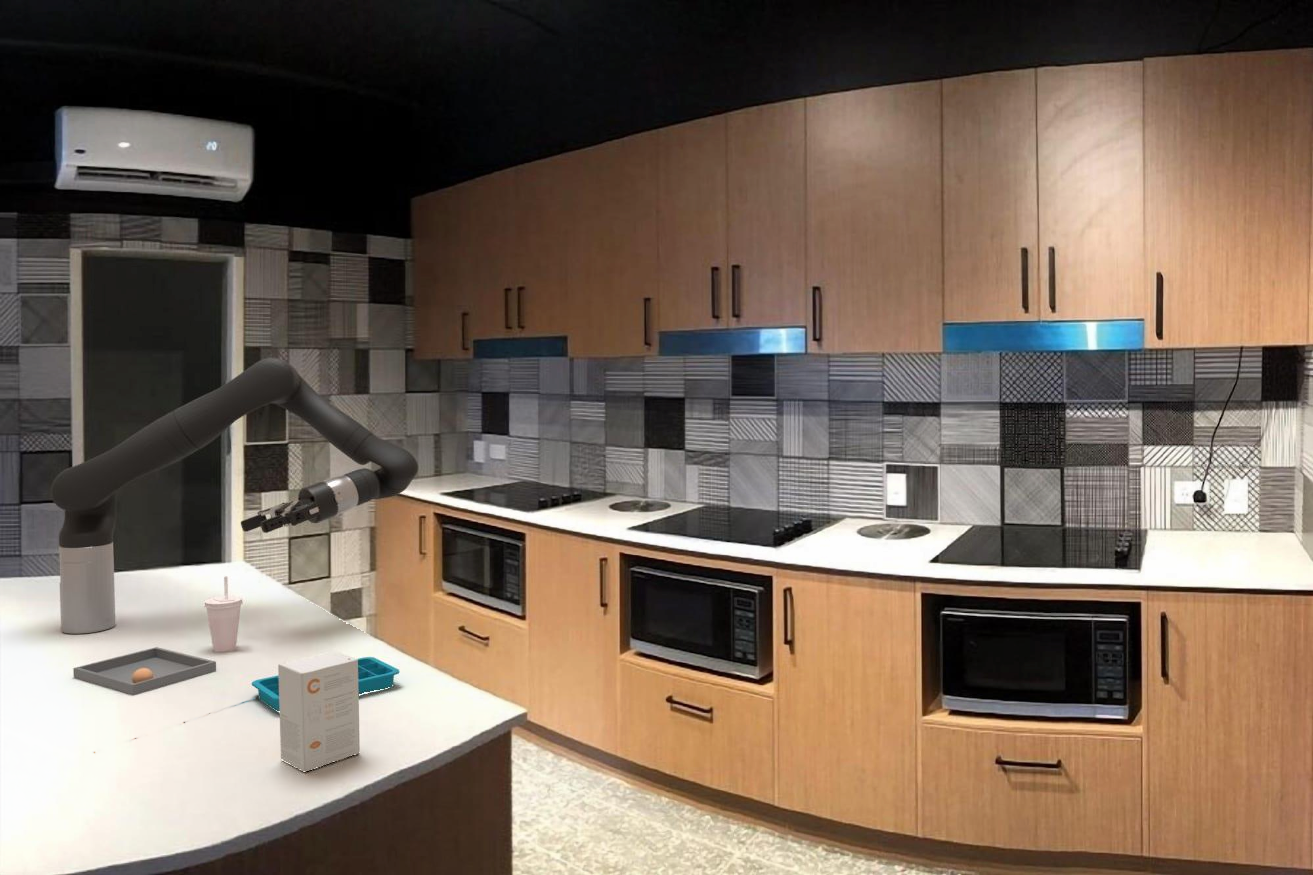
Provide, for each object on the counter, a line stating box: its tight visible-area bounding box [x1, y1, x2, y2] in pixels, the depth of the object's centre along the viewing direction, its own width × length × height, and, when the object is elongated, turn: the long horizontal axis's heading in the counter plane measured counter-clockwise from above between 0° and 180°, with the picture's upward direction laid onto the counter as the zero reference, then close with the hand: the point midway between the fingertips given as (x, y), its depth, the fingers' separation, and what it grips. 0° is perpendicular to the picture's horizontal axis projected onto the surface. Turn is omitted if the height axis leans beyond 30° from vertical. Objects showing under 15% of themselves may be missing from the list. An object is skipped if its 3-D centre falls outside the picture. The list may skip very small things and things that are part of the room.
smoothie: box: [204, 575, 243, 653], centre depth 166 cm, size 6×6×14 cm
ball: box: [132, 668, 153, 683], centre depth 145 cm, size 3×3×3 cm
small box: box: [277, 650, 361, 772], centre depth 118 cm, size 8×6×13 cm
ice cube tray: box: [251, 656, 400, 711], centre depth 144 cm, size 12×20×3 cm, turn 133°
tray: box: [72, 646, 217, 696], centre depth 152 cm, size 17×14×2 cm
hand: (252, 527), depth 169 cm, fingers open, 8 cm apart
